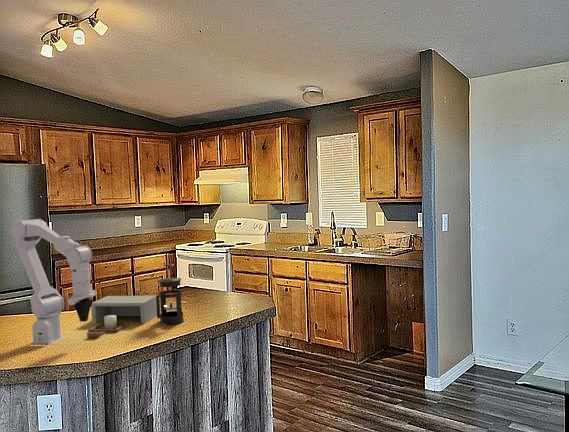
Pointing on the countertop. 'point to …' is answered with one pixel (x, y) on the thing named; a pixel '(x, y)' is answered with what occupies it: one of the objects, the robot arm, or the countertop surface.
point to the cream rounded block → (110, 321)
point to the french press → (170, 316)
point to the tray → (104, 330)
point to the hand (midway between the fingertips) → (83, 320)
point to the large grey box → (124, 307)
